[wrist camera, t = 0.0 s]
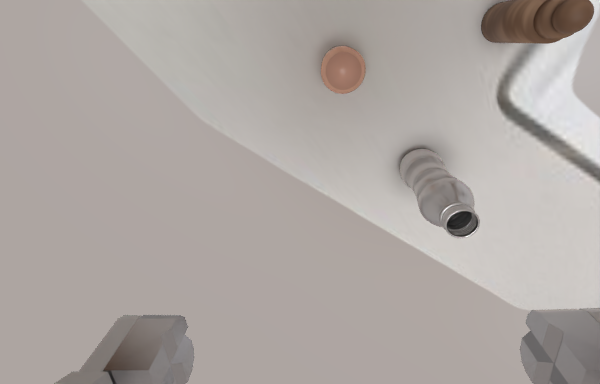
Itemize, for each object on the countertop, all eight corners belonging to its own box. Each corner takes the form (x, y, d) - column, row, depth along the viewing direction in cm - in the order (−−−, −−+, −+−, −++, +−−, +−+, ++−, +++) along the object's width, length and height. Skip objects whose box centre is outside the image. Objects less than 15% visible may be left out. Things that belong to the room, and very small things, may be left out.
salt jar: (320, 47, 50) (319, 48, 42) (359, 44, 50) (366, 45, 41) (322, 87, 52) (322, 96, 44) (359, 84, 52) (366, 93, 43)
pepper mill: (483, 3, 47) (561, -14, 31) (522, 0, 46) (620, -19, 31) (479, 44, 49) (549, 46, 33) (516, 40, 48) (605, 41, 33)
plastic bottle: (428, 187, 58) (477, 255, 39) (390, 176, 57) (421, 240, 39) (445, 151, 55) (506, 207, 37) (405, 139, 55) (447, 190, 36)
